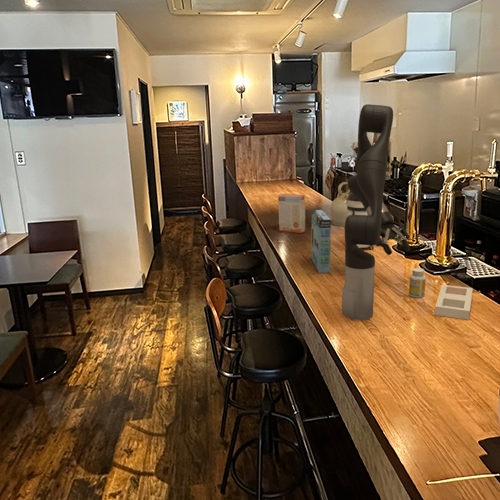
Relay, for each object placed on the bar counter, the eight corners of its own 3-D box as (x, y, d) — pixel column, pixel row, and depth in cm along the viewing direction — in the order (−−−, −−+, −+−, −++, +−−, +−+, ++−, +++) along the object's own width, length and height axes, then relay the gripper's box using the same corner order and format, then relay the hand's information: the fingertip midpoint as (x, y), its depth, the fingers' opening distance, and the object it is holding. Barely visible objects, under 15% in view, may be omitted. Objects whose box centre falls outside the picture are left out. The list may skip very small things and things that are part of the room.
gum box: (311, 259, 211) (310, 210, 205) (322, 258, 211) (322, 209, 205) (318, 273, 193) (318, 219, 186) (330, 272, 193) (331, 219, 186)
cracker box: (305, 231, 261) (305, 194, 256) (300, 233, 257) (300, 196, 251) (283, 229, 269) (283, 193, 263) (278, 231, 264) (277, 194, 258)
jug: (359, 226, 267) (360, 183, 260) (332, 227, 267) (333, 184, 260) (354, 220, 282) (355, 179, 274) (328, 221, 282) (328, 180, 275)
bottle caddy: (468, 319, 145) (469, 311, 144) (434, 314, 150) (435, 306, 149) (471, 296, 163) (472, 288, 162) (441, 292, 167) (441, 284, 167)
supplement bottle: (412, 298, 163) (414, 272, 161) (406, 292, 168) (407, 267, 166) (427, 297, 164) (429, 271, 161) (420, 291, 169) (422, 266, 166)
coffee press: (365, 254, 215) (366, 190, 207) (337, 248, 227) (338, 187, 218) (386, 246, 226) (388, 185, 217) (358, 240, 238) (360, 182, 229)
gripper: (369, 213, 171) (389, 250, 165) (399, 208, 177) (419, 244, 170) (360, 224, 178) (379, 260, 171) (389, 219, 183) (408, 254, 176)
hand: (399, 252), depth 171 cm, fingers open, 8 cm apart
